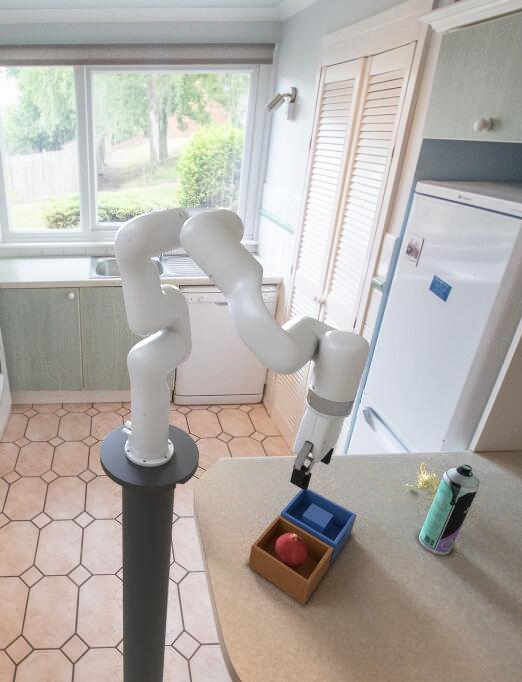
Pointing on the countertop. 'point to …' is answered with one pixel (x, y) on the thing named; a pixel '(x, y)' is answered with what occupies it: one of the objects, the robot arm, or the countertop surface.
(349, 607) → the countertop surface
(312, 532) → the blue bin
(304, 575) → the brown bin
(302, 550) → the onion
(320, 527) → the blue block
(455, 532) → the spray can
